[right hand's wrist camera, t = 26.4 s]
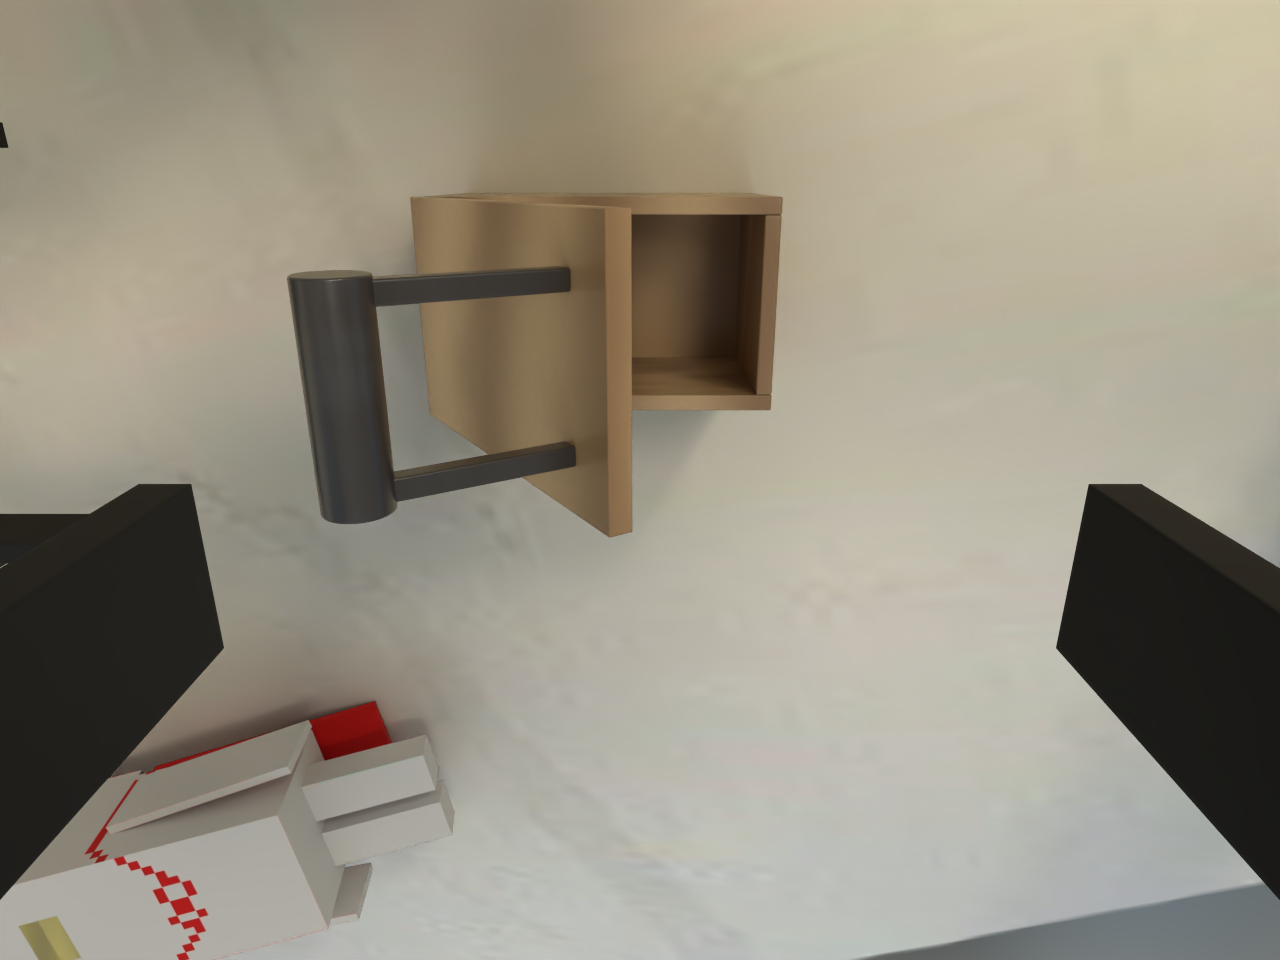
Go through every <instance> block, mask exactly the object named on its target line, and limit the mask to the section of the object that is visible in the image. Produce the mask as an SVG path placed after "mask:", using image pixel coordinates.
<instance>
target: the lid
mask: <svg viewBox="0 0 1280 960" xmlns="http://www.w3.org/2000/svg"><path fill="white" fill-rule="evenodd" d="M410 199H411V211H412V222H413V233H414V244H415V255H416V266H417V274H411V275H393V276H376V277H373V276H372V274H371V273H370V272H366V271H355V270H329V271H311V272H302V273H295V274H291V275H289V276H288V277H287V282H288V289H289V296H290V303H291V310H292V317H293V324H294V331H295V338H296V344H297V351H298V358H299V365H300V372H301V379H302V386H303V393H304V400H305V407H306V414H307V421H308V428H309V435H310V442H311V449H312V456H313V463H314V470H315V477H316V484H317V491H318V498H319V505H320V512H321V516H322V517H323V518H324V519H325V520H327V521H329V522H333V523H339V524H358V523H366V522H371V521H375V520H378V519H381V518H384V517H386V516H388V515H390V514H392V513H393V512H394V511H395V510H396V508H397V502H399V501H404V500H409V499H414V498H419V497H424V496H429V495H434V494H439V493H444V492H449V491H454V490H459V489H464V488H470V487H475V486H480V485H485V484H490V483H495V482H500V481H505V480H510V479H515V478H520V477H522V478H524V479H525V480H527V481H528V482H529V483H531V484H532V485H534V486H535V487H537V488H538V489H540V490H541V491H543V492H544V493H545V494H547V495H548V496H550V497H551V498H553V499H554V500H556V501H557V502H559V503H560V504H561V505H563V506H564V507H566V508H567V509H569V510H570V511H572V512H573V513H575V514H576V515H577V516H579V517H580V518H582V519H583V520H585V521H586V522H588V523H589V524H591V525H592V526H593V527H595V528H596V529H598V530H599V531H601V532H602V533H604V534H605V535H607V536H608V537H614V536H617V535H621V534H625V533H629V532H632V277H631V208H628V207H609V206H590V205H571V204H553V203H534V202H515V201H496V200H478V199H459V198H440V197H411V198H410ZM418 303H420V310H421V322H422V333H423V344H424V355H425V366H426V377H427V388H428V399H429V410H430V414H431V415H432V416H434V417H435V418H436V419H438V420H439V421H441V422H442V423H444V424H445V425H447V426H448V427H450V428H451V429H452V430H454V431H455V432H457V433H458V434H460V435H461V436H463V437H464V438H466V439H467V440H468V441H470V442H471V443H473V444H474V445H476V446H477V447H479V448H480V449H481V450H483V451H484V452H486V453H487V454H489V455H485V456H479V457H474V458H468V459H462V460H457V461H451V462H445V463H440V464H434V465H429V466H423V467H417V468H412V469H406V470H401V471H395V472H394V470H393V460H392V451H391V442H390V433H389V424H388V414H387V405H386V396H385V387H384V377H383V368H382V359H381V350H380V341H379V331H378V322H377V313H376V307H379V306H392V305H405V304H418Z"/></svg>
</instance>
